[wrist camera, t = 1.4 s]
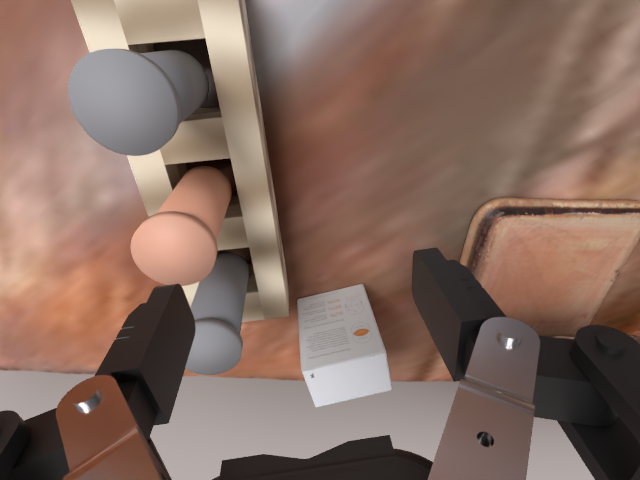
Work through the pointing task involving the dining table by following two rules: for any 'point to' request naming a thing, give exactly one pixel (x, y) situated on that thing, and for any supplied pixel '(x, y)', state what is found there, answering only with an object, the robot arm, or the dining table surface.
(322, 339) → the small box
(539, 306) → the case
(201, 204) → the plug mid
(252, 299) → the socket block
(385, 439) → the robot arm
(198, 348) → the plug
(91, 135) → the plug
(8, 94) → the dining table surface
